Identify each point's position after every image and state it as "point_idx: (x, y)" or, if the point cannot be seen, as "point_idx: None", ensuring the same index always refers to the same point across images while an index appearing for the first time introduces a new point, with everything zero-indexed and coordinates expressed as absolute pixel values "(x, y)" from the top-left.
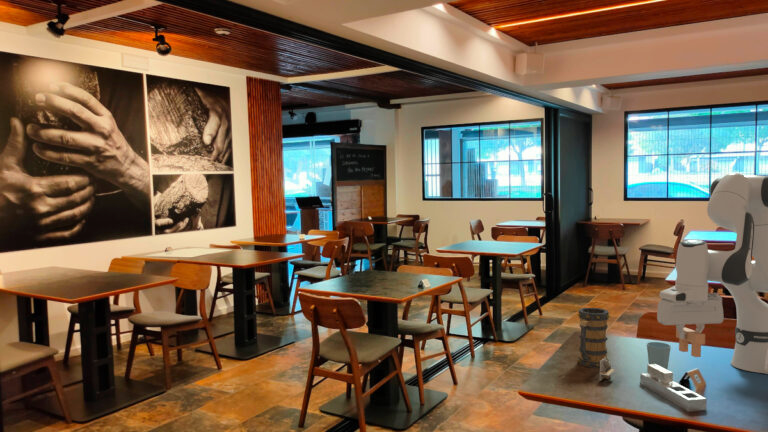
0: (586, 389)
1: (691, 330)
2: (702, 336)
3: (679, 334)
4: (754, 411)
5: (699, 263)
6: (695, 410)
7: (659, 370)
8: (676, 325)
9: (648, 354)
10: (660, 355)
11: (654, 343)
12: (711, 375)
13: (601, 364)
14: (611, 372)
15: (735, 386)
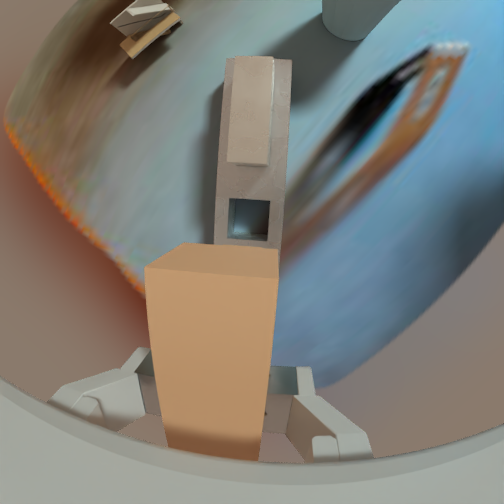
0: (77, 103)
1: (236, 413)
2: None
3: (130, 358)
4: (383, 334)
5: None
6: None
7: (231, 126)
8: (57, 397)
9: None
10: (347, 5)
11: None
12: (474, 95)
13: (123, 22)
14: (151, 39)
15: (477, 181)
